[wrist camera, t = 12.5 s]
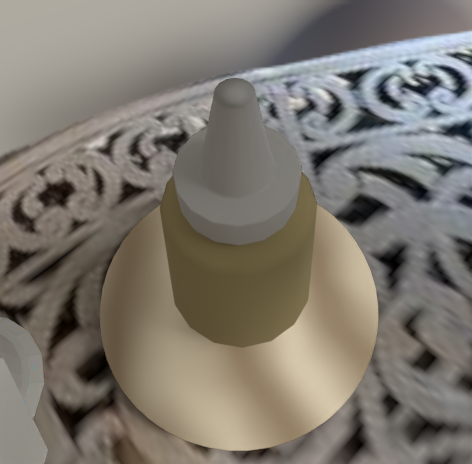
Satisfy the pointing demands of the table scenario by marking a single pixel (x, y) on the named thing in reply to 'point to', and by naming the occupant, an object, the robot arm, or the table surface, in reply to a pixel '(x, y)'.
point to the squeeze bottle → (239, 225)
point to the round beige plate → (236, 358)
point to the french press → (22, 362)
